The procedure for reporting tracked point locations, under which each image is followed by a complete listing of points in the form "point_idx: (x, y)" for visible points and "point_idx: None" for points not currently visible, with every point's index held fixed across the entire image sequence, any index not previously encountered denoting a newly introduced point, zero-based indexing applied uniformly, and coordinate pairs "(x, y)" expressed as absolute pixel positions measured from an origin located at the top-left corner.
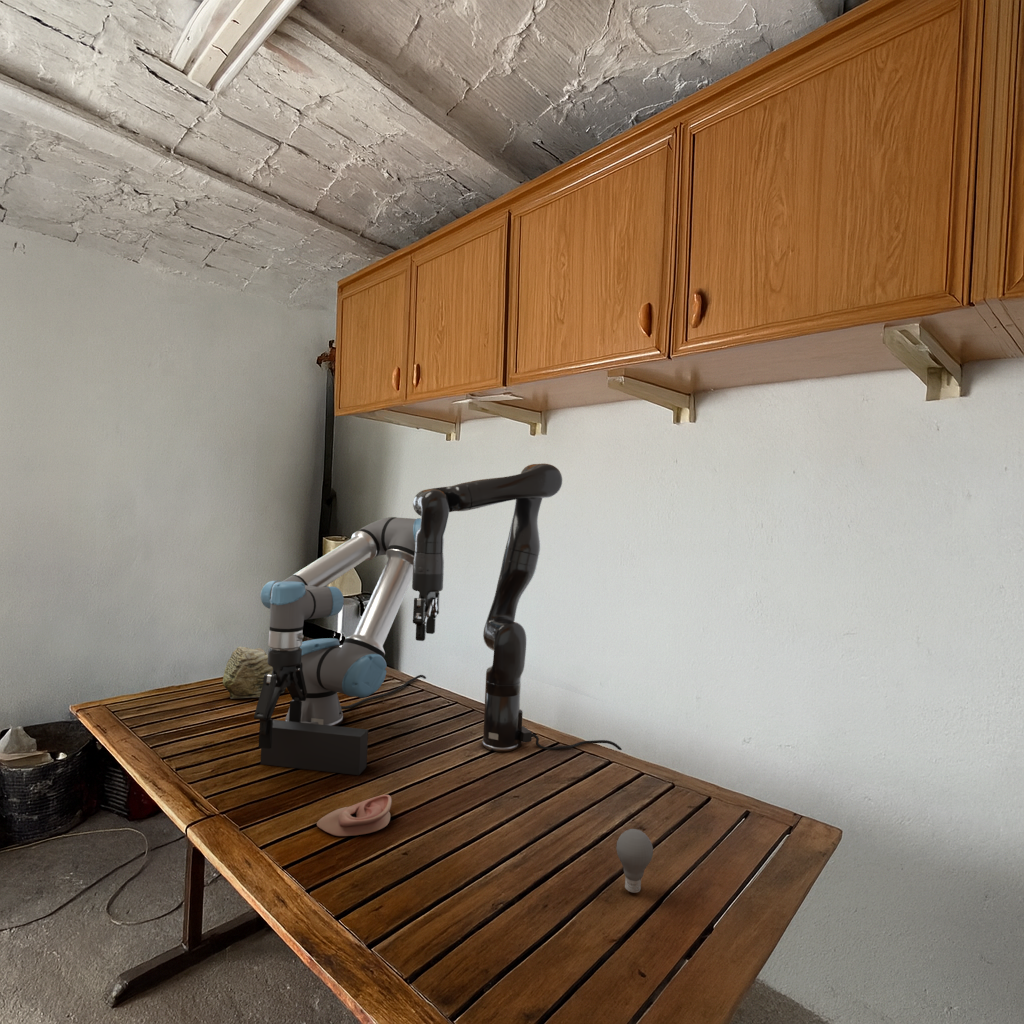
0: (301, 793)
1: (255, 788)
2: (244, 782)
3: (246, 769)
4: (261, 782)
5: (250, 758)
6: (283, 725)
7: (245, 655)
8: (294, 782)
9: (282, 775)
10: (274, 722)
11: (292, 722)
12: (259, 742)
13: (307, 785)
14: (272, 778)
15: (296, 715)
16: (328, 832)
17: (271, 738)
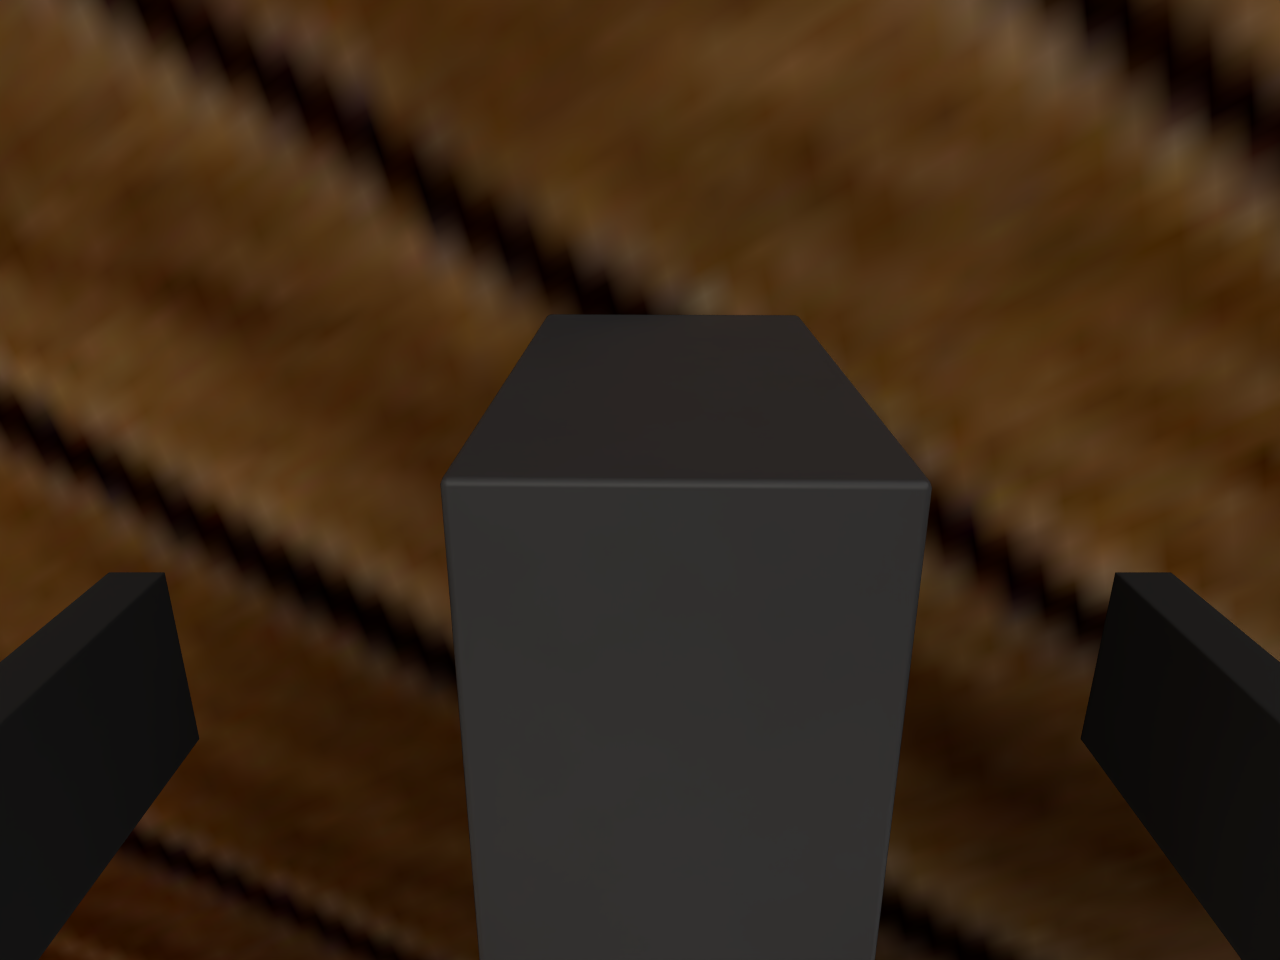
0: (133, 942)
1: (27, 570)
2: (81, 398)
3: (368, 230)
4: (159, 558)
5: (681, 84)
6: (630, 849)
7: None
8: (285, 820)
9: (374, 667)
10: (753, 616)
11: (834, 921)
12: (60, 627)
13: (277, 929)
14: (279, 612)
15: (1229, 860)
16: None
17: (107, 846)
